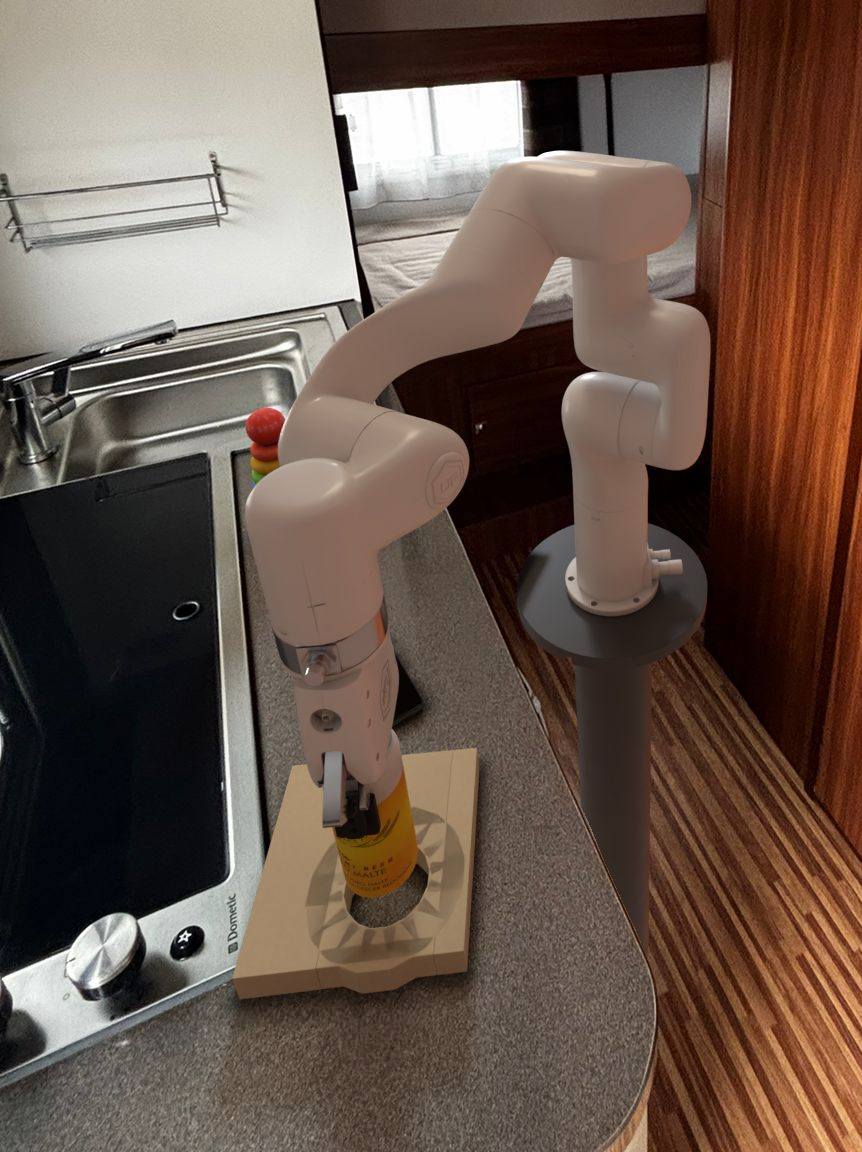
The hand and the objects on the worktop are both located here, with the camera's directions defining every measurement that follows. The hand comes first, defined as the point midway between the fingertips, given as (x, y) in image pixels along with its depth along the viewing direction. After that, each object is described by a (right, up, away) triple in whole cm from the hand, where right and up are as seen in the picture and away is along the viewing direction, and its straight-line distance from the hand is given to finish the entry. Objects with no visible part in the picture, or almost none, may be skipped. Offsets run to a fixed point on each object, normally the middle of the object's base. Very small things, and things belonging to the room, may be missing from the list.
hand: (367, 788), depth 65 cm
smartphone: (-8, -4, +28) cm, 29 cm away
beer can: (0, -9, +4) cm, 10 cm away
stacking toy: (-28, +7, +52) cm, 60 cm away
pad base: (-2, -13, +9) cm, 16 cm away
